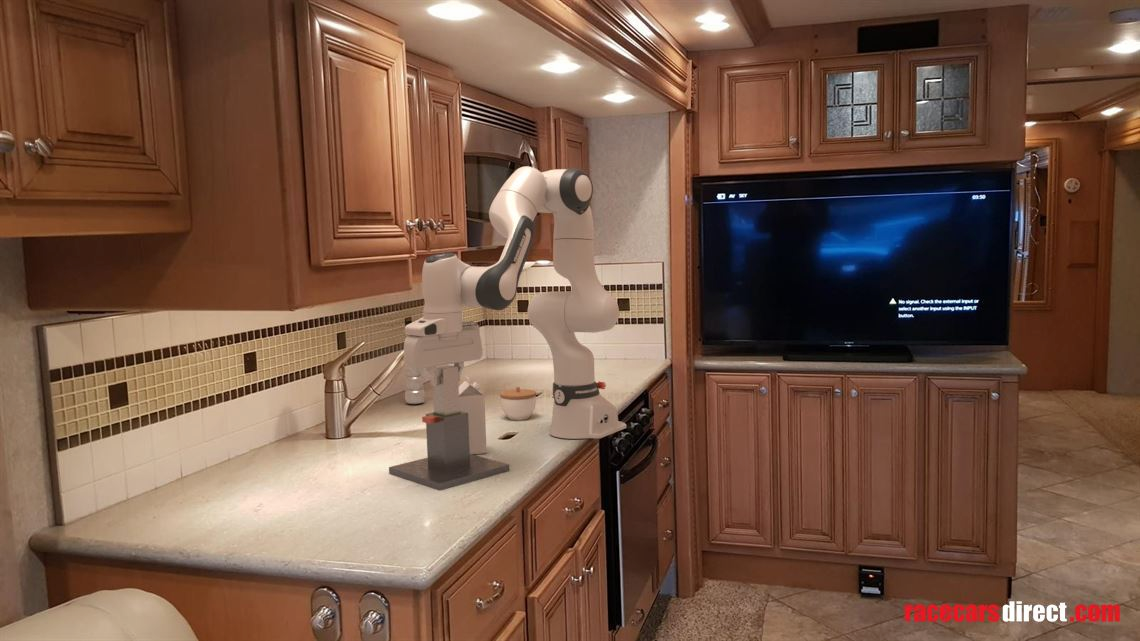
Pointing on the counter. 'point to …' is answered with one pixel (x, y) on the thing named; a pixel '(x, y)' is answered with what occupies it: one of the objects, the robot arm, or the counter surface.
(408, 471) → the jack base
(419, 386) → the plastic bottle
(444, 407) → the block
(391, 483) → the counter surface
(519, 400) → the lidded jar
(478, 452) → the milk carton
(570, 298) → the robot arm
